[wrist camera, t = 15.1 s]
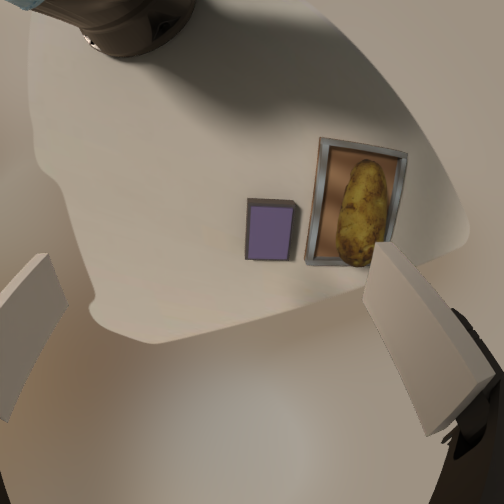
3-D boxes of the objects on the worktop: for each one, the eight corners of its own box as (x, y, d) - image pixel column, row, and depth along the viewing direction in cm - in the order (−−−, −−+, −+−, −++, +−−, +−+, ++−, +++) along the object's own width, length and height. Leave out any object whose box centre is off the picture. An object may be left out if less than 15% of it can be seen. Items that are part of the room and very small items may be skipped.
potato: (397, 182, 35) (429, 199, 28) (350, 253, 40) (371, 282, 33) (355, 149, 33) (384, 160, 26) (305, 229, 38) (321, 257, 31)
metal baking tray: (319, 136, 32) (323, 138, 31) (401, 151, 33) (407, 153, 32) (303, 259, 41) (306, 265, 39) (378, 260, 41) (382, 266, 40)
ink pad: (247, 198, 36) (248, 203, 34) (292, 200, 36) (296, 205, 34) (244, 252, 40) (245, 261, 37) (286, 253, 40) (289, 262, 38)
